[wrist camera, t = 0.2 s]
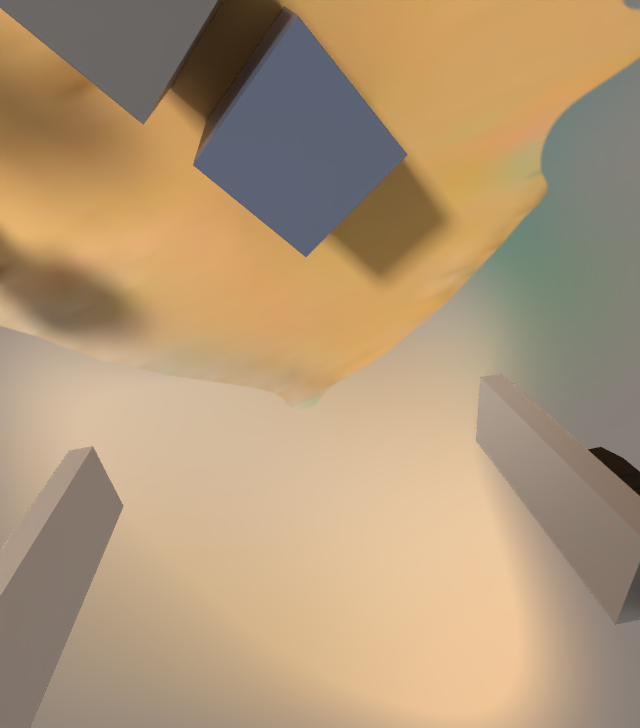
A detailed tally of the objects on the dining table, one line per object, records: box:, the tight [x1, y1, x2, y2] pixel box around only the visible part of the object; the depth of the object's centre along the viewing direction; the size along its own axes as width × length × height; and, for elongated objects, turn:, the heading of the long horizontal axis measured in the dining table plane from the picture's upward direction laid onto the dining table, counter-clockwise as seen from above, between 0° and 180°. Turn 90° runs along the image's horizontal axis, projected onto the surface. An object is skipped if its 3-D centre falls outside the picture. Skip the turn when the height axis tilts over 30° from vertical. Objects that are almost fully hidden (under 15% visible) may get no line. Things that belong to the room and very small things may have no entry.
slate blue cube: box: [193, 6, 407, 257], centre depth 27 cm, size 9×9×10 cm
